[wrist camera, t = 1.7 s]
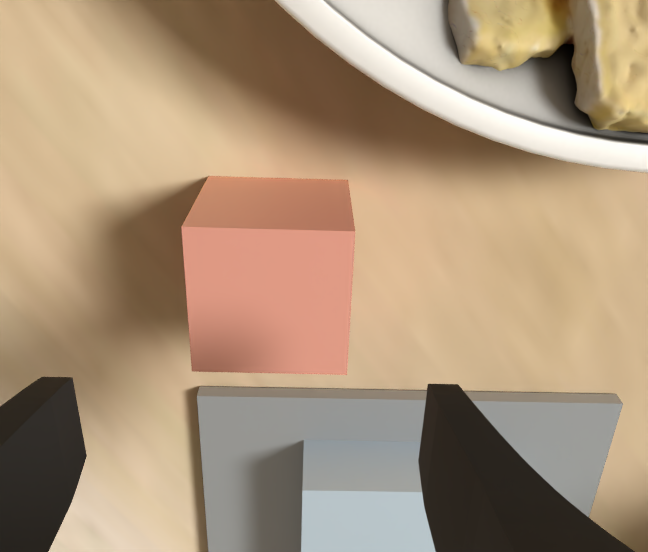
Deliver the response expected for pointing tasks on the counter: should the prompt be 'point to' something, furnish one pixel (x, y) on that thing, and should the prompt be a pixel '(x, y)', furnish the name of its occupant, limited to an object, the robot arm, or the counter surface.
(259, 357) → the pink cube
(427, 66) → the bowl
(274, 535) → the baseplate
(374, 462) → the light grey square block
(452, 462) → the robot arm
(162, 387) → the counter surface
